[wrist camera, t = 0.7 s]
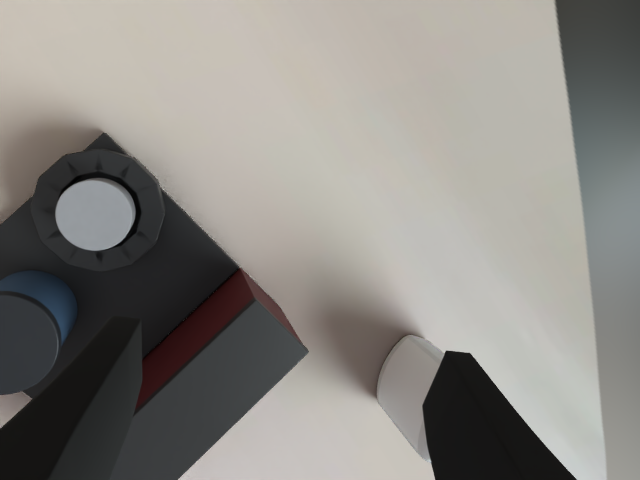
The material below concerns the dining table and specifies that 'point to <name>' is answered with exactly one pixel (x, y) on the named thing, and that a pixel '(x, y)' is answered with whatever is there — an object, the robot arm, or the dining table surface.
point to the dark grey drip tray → (115, 253)
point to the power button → (95, 214)
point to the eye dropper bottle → (409, 387)
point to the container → (32, 327)
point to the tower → (206, 379)
